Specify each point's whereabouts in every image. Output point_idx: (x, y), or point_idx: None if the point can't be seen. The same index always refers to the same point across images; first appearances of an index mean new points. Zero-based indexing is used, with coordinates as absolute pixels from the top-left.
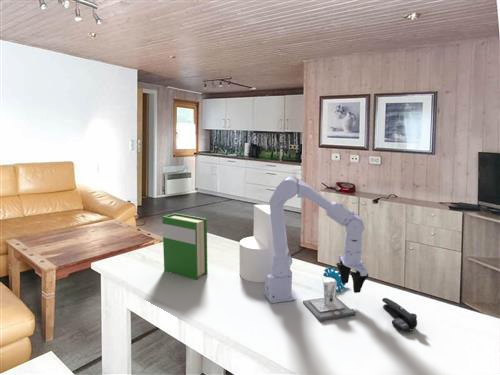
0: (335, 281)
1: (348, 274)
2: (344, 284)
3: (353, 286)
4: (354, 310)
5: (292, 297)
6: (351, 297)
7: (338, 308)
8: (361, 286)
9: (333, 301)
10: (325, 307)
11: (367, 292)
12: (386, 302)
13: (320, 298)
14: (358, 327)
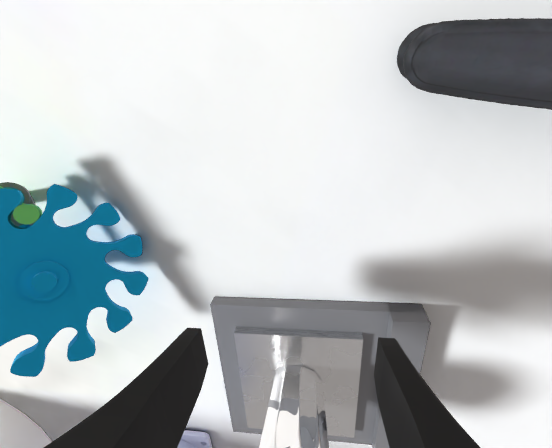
0: None
1: (160, 395)
2: (75, 200)
3: (391, 440)
4: (416, 323)
5: (195, 442)
6: (218, 212)
7: (355, 369)
8: (427, 391)
9: (318, 394)
10: (325, 406)
11: (158, 54)
12: (513, 100)
13: (224, 372)
14: (517, 345)
